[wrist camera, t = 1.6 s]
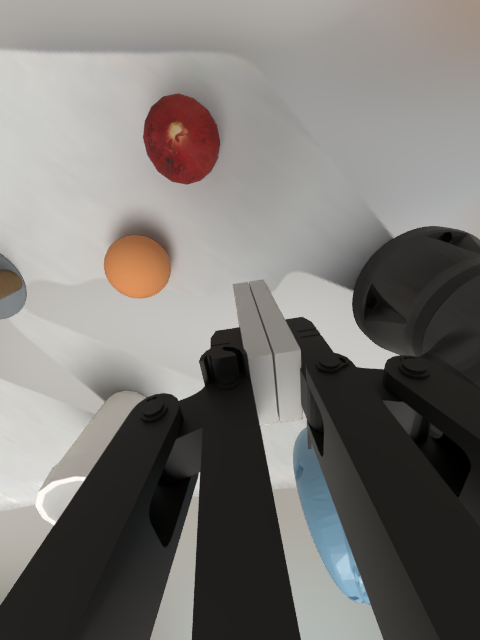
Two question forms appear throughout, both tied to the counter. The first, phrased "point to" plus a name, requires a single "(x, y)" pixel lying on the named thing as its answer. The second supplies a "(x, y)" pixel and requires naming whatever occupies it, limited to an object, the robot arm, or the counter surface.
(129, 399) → the foam cup
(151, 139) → the onion
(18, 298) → the pin spot
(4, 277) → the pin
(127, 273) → the ball
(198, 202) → the counter surface
